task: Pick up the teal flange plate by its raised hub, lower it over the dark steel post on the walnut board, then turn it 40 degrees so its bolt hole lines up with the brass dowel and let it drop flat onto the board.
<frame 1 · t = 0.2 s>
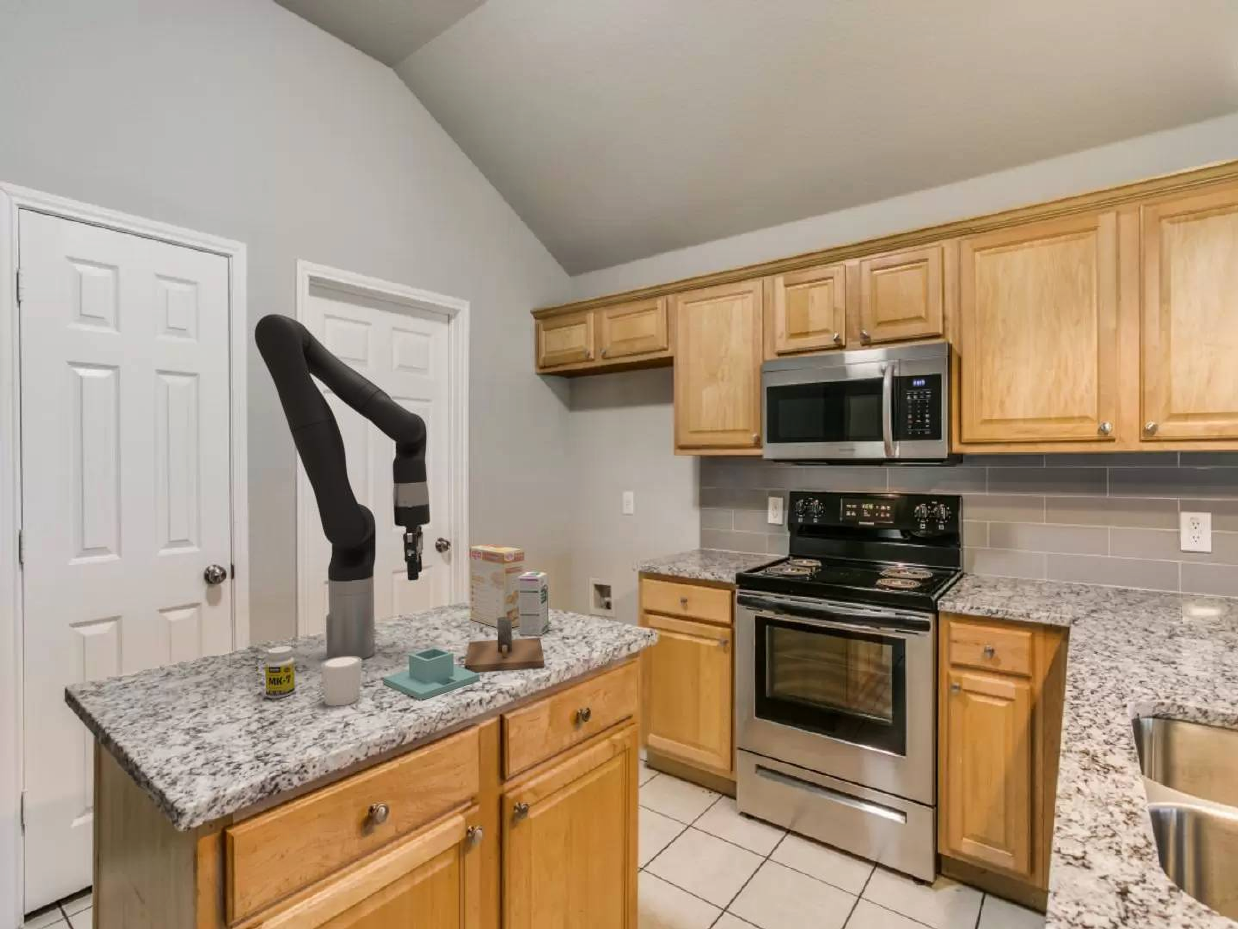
hand: (415, 576, 142), 17 cm above the counter, tool pointing down, fingers open, 8 cm apart
supplement bottle: (280, 695, 119), on the counter
post block: (504, 657, 139), on the counter
flange plate: (431, 682, 125), on the counter
coffeecake box: (497, 623, 167), on the counter
syrup box: (533, 633, 158), on the counter
shot glass: (342, 701, 116), on the counter
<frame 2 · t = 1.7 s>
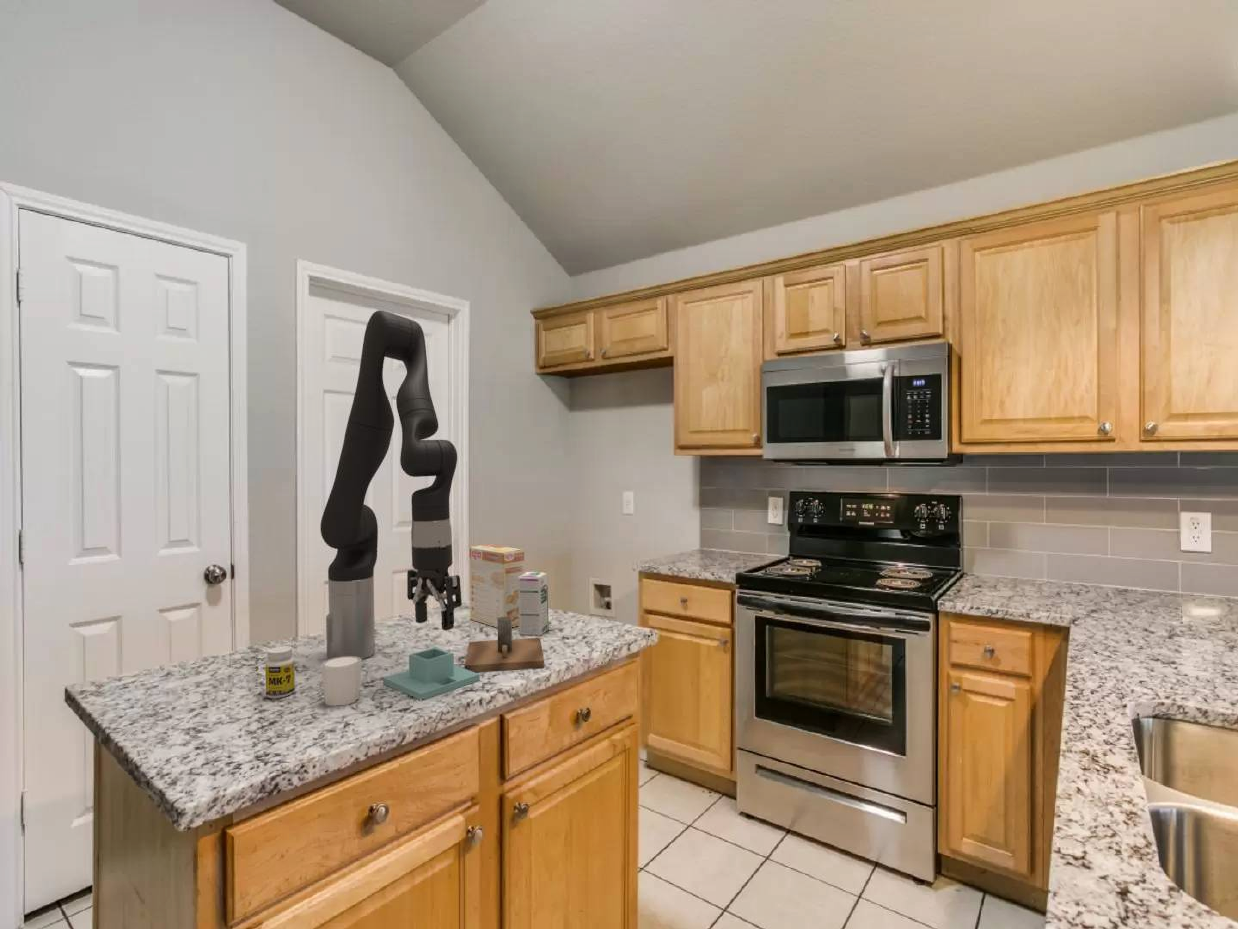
hand: (434, 625, 125), 11 cm above the counter, tool pointing down, fingers open, 8 cm apart
nothing on the counter moved.
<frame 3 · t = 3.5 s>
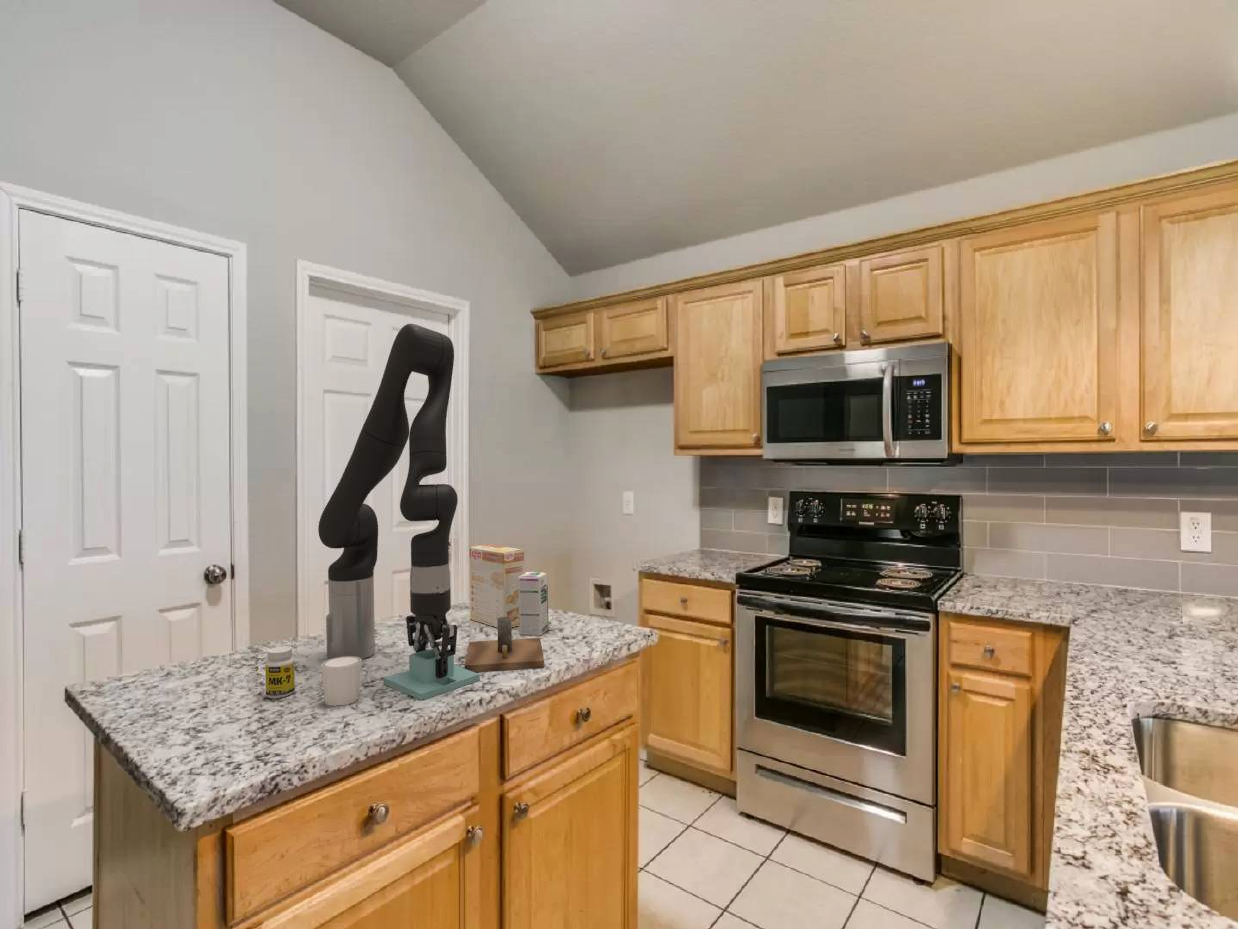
hand: (431, 672, 125), 2 cm above the counter, tool pointing down, fingers closed on flange plate, 6 cm apart
flange plate: (431, 682, 125), on the counter, touching gripper
everything else where it was.
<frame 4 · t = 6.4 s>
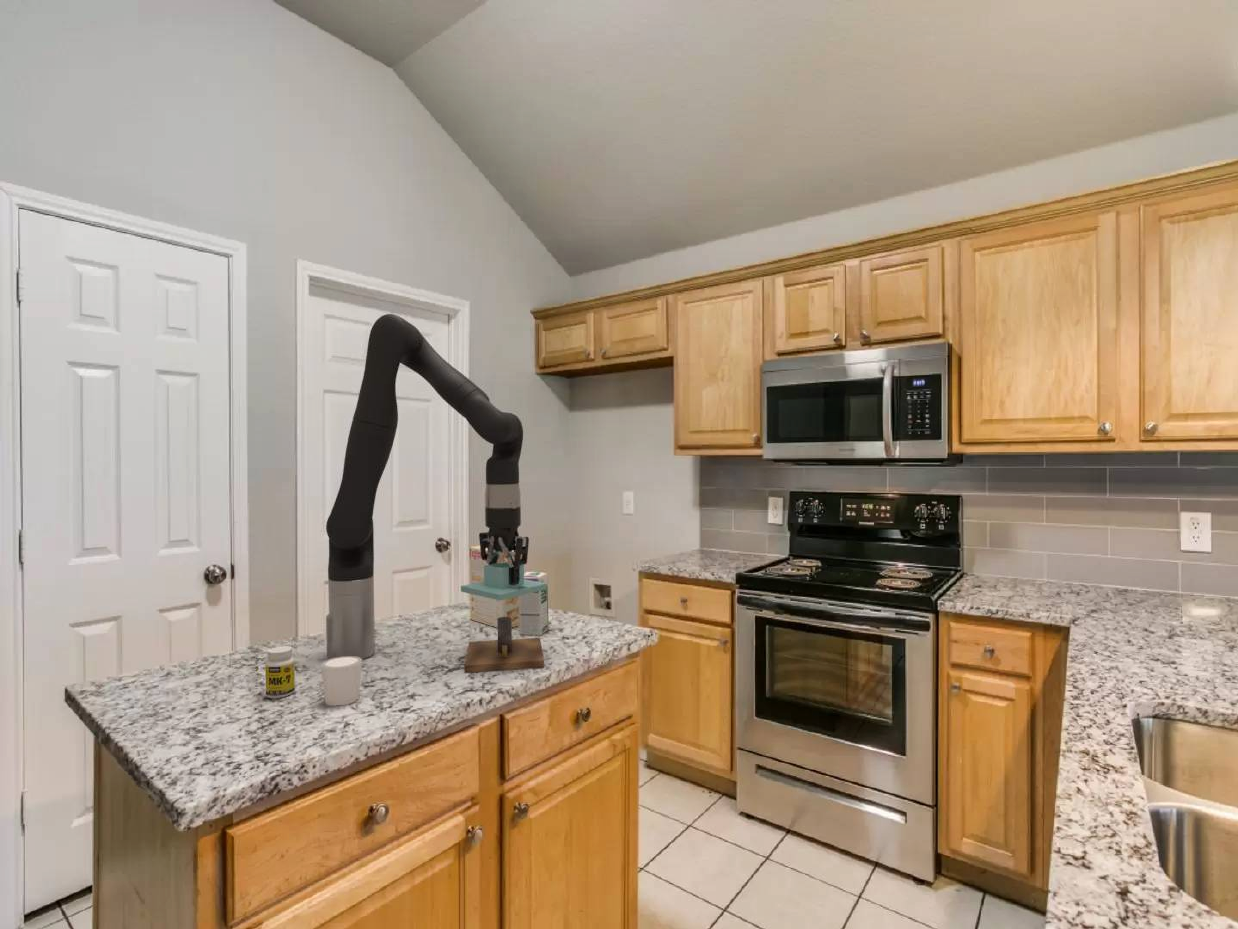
hand: (503, 582, 139), 16 cm above the counter, tool pointing down, fingers closed on flange plate, 6 cm apart
flange plate: (504, 590, 139), point 15 cm above the counter, touching gripper
everything else where it was.
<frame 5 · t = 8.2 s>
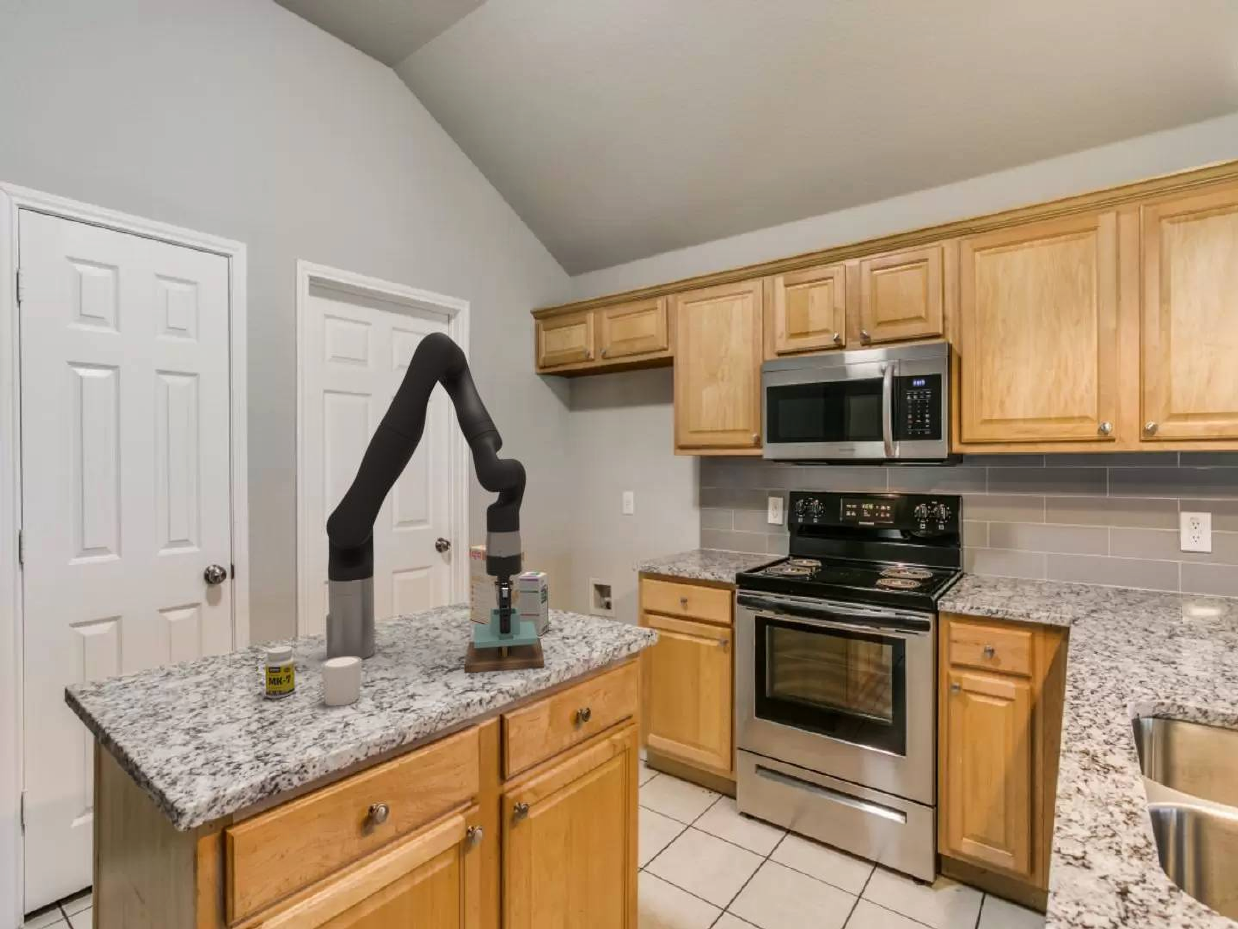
hand: (504, 628, 139), 6 cm above the counter, tool pointing down, fingers closed on flange plate, 6 cm apart
flange plate: (505, 636, 139), point 5 cm above the counter, touching gripper
everything else where it was.
when the fingers open (6 cm above the counter, at t = 9.5 s): flange plate drops 3 cm, resting on post block.
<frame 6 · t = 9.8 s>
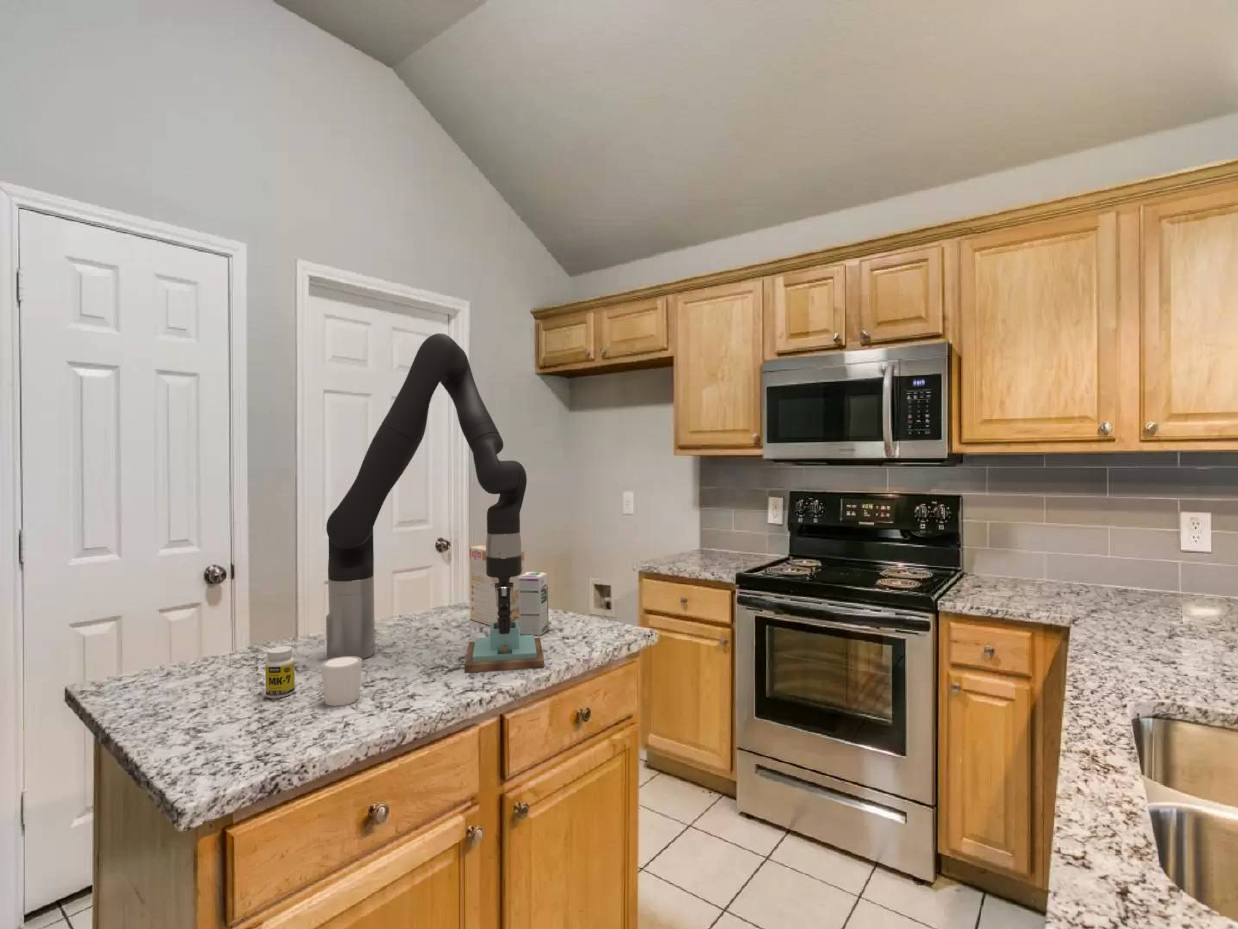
hand: (504, 628, 139), 6 cm above the counter, tool pointing down, fingers open, 8 cm apart
flange plate: (504, 650, 139), point 1 cm above the counter, touching post block
everything else where it was.
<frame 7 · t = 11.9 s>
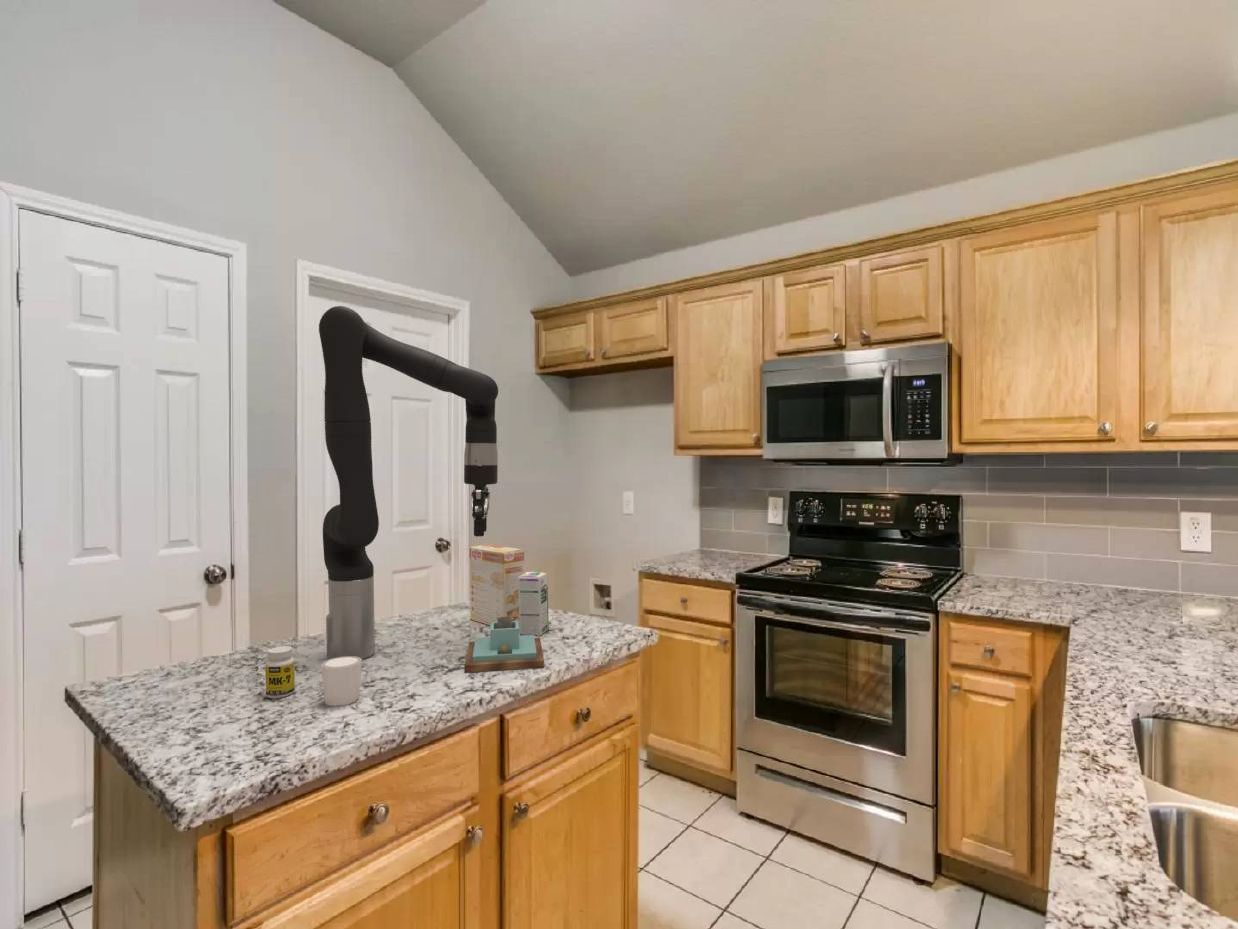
hand: (480, 533, 148), 26 cm above the counter, tool pointing down, fingers open, 8 cm apart
nothing on the counter moved.
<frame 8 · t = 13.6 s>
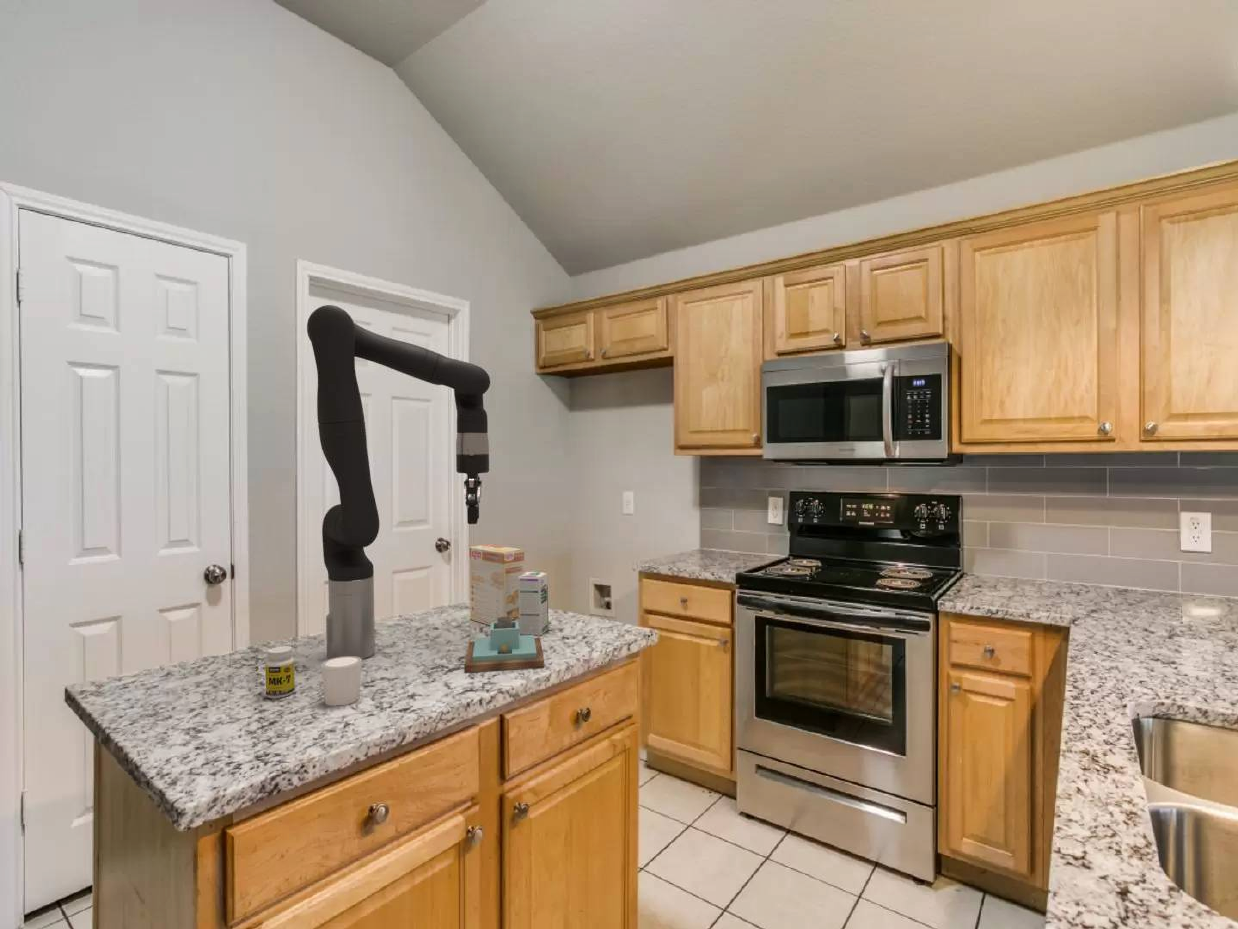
hand: (473, 521, 151), 28 cm above the counter, tool pointing down, fingers open, 8 cm apart
nothing on the counter moved.
at the end: flange plate 0.0 cm off-centre on the post block, point 1.5 cm above the post block's base; flange plate tilted 0°; the gripper is holding nothing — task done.
